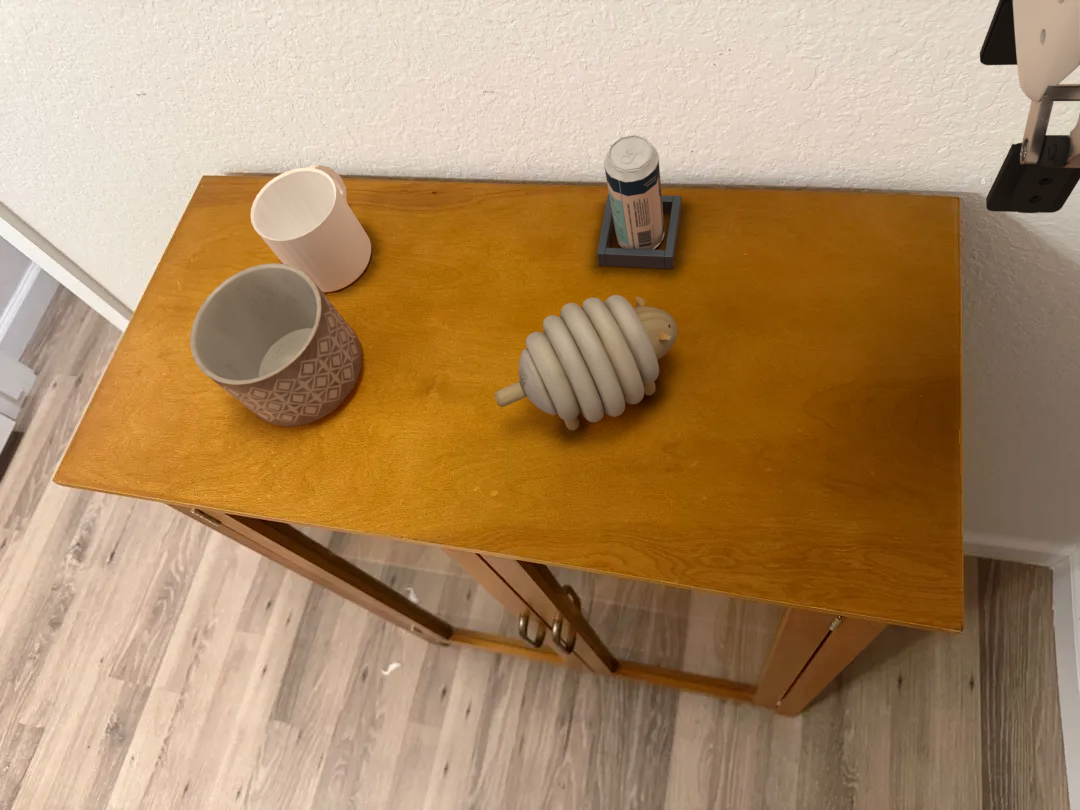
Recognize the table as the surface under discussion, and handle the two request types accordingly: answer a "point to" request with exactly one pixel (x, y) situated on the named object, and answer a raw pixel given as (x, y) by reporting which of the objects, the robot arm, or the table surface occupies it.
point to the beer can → (635, 192)
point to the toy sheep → (593, 359)
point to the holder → (641, 256)
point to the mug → (312, 226)
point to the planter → (276, 344)
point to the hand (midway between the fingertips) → (1015, 130)
